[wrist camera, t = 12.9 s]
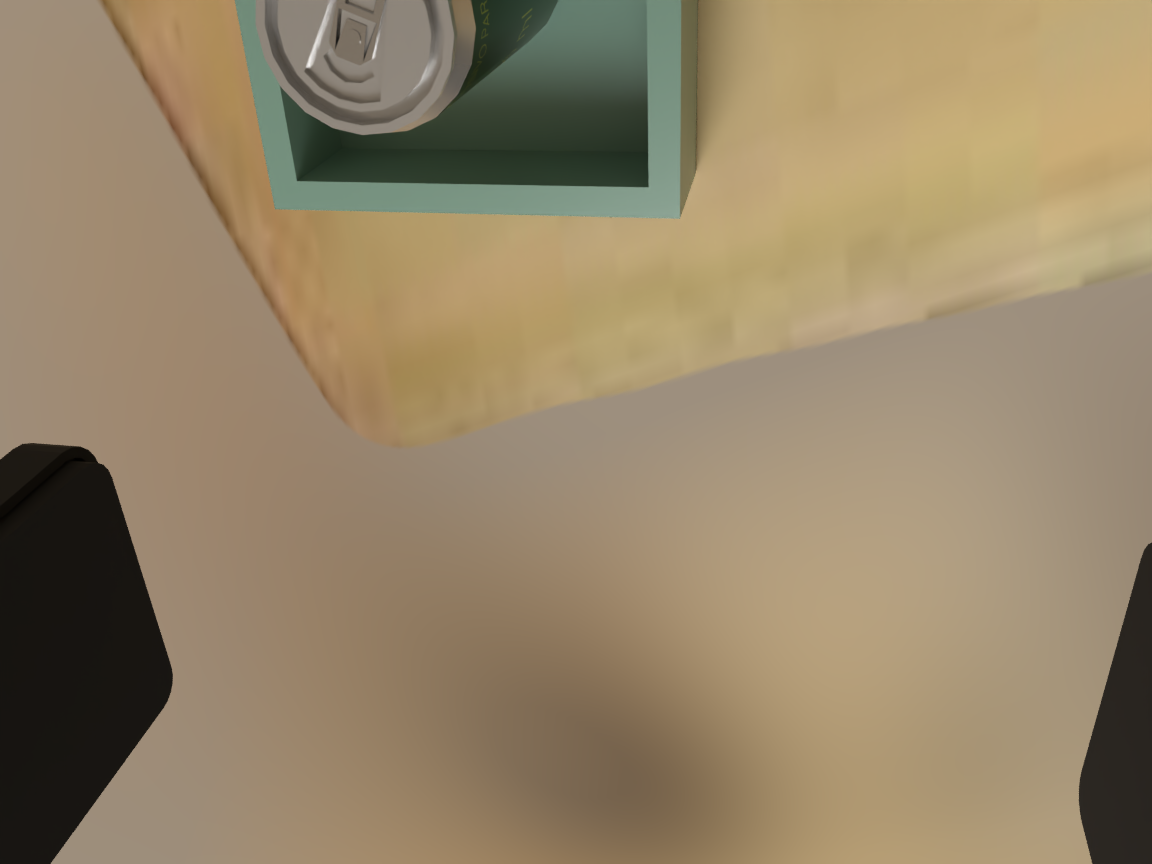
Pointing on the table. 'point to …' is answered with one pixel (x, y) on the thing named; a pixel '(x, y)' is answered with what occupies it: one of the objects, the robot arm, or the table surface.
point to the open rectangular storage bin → (514, 127)
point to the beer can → (390, 54)
